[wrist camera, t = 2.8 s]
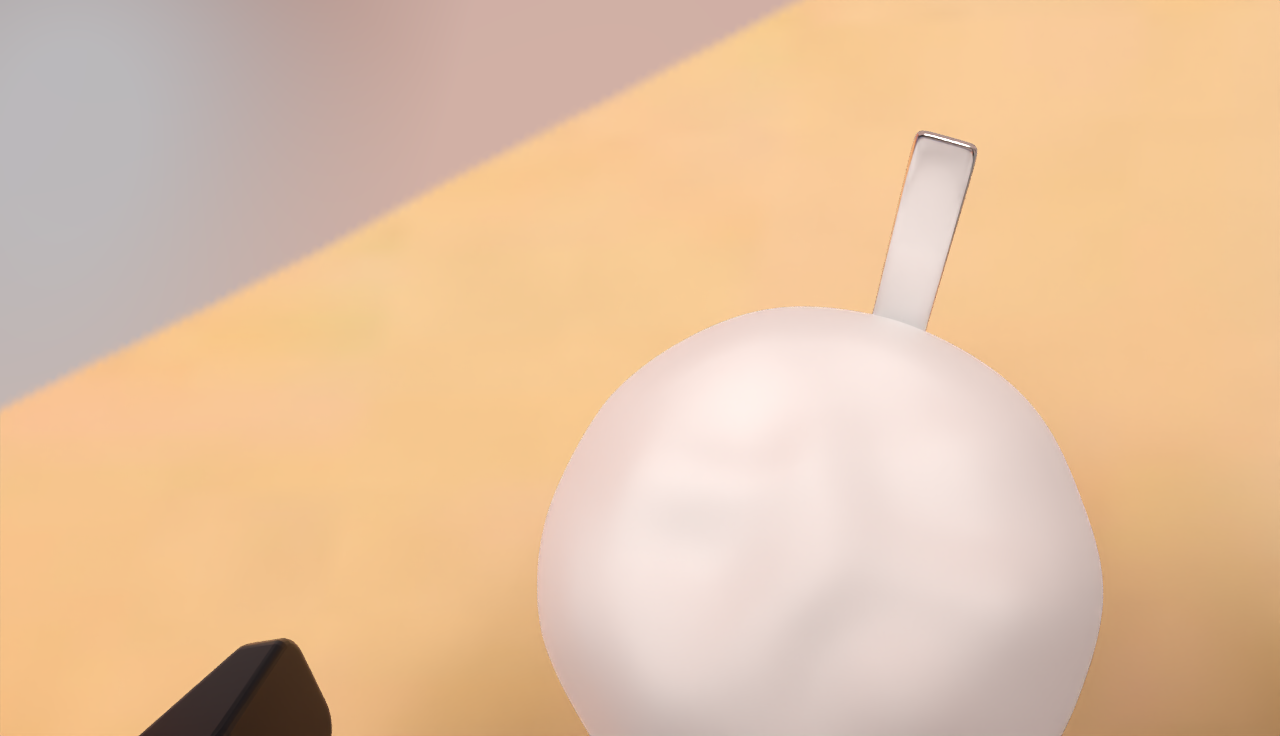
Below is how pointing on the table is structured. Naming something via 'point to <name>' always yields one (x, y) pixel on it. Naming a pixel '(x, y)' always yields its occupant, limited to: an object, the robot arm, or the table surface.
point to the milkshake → (824, 525)
